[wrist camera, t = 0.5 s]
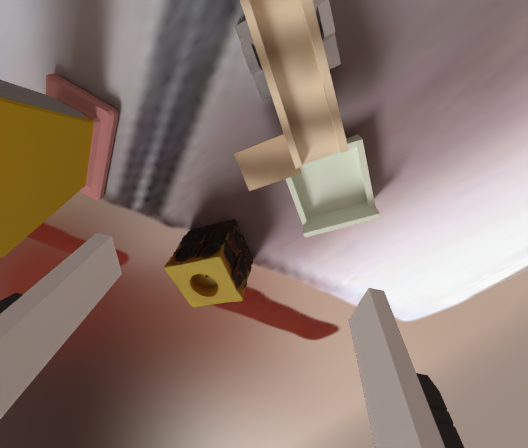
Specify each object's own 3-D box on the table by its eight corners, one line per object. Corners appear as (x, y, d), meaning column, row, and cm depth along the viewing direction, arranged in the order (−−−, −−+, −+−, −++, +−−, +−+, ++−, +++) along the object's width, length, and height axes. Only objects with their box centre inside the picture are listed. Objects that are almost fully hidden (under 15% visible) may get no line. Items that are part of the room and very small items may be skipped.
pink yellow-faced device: (56, 51, 31) (-288, 19, 13) (125, 92, 32) (-92, 116, 14) (51, 183, 42) (-133, 265, 24) (102, 208, 44) (-34, 303, 26)
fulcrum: (236, 27, 27) (221, 16, 22) (322, -23, 24) (328, -49, 19) (262, 99, 31) (255, 105, 26) (340, 64, 28) (349, 62, 23)
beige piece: (159, -41, 24) (132, -69, 20) (276, -130, 20) (269, -185, 16) (252, 187, 32) (245, 196, 29) (346, 154, 28) (352, 160, 25)
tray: (282, 161, 35) (280, 173, 31) (357, 134, 32) (366, 143, 27) (304, 220, 40) (305, 237, 36) (371, 201, 37) (380, 218, 32)
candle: (236, 218, 41) (220, 254, 33) (255, 260, 46) (245, 301, 38) (186, 229, 44) (161, 266, 36) (209, 268, 49) (191, 308, 41)
